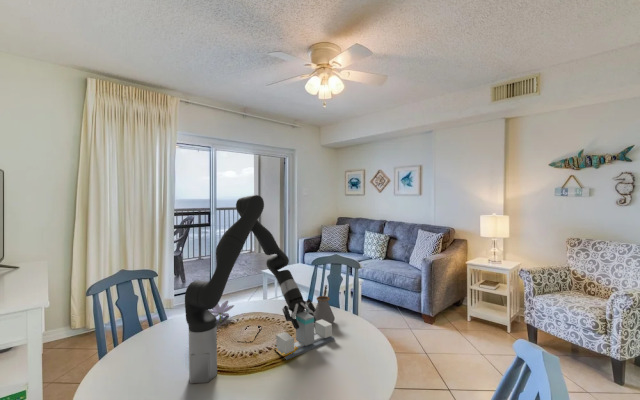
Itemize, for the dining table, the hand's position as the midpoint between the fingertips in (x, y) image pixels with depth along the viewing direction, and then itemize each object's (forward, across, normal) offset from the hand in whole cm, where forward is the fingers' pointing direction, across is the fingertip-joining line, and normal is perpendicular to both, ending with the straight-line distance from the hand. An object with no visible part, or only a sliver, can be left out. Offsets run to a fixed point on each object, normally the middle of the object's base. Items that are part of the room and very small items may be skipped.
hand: (306, 325), depth 124 cm
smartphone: (-12, -14, +24) cm, 30 cm away
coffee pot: (-5, +23, +17) cm, 29 cm away
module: (+4, 0, +5) cm, 7 cm away
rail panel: (+6, 0, +7) cm, 9 cm away
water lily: (-30, -18, +43) cm, 55 cm away
